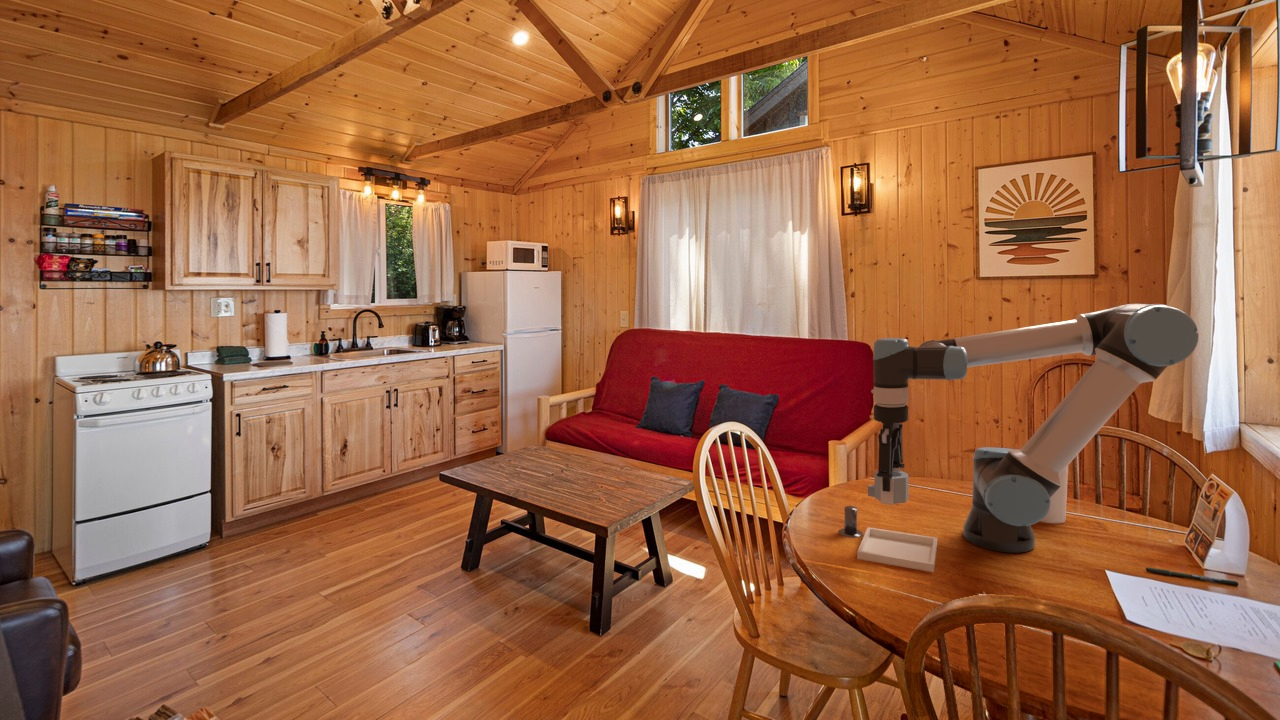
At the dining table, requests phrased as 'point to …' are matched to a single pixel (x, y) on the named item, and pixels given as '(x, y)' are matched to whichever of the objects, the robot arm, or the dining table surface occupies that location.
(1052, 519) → the cup
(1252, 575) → the dining table surface
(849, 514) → the post
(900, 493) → the grey socket block
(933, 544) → the tray
